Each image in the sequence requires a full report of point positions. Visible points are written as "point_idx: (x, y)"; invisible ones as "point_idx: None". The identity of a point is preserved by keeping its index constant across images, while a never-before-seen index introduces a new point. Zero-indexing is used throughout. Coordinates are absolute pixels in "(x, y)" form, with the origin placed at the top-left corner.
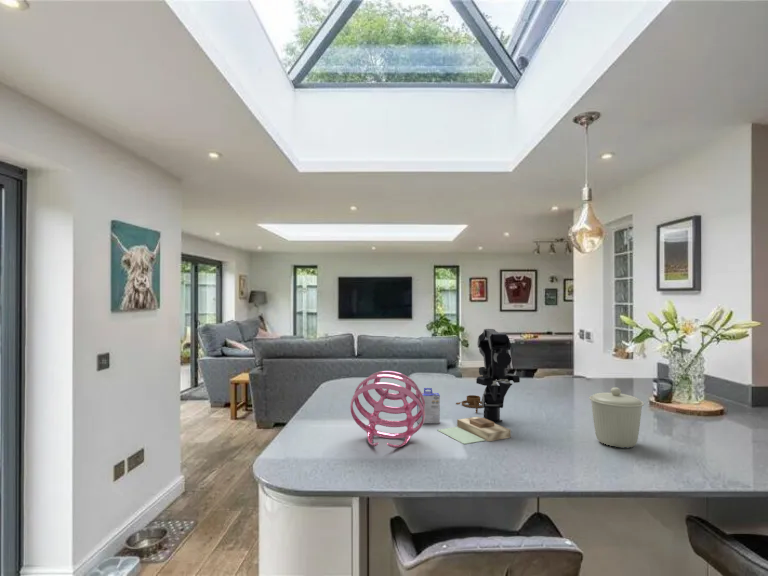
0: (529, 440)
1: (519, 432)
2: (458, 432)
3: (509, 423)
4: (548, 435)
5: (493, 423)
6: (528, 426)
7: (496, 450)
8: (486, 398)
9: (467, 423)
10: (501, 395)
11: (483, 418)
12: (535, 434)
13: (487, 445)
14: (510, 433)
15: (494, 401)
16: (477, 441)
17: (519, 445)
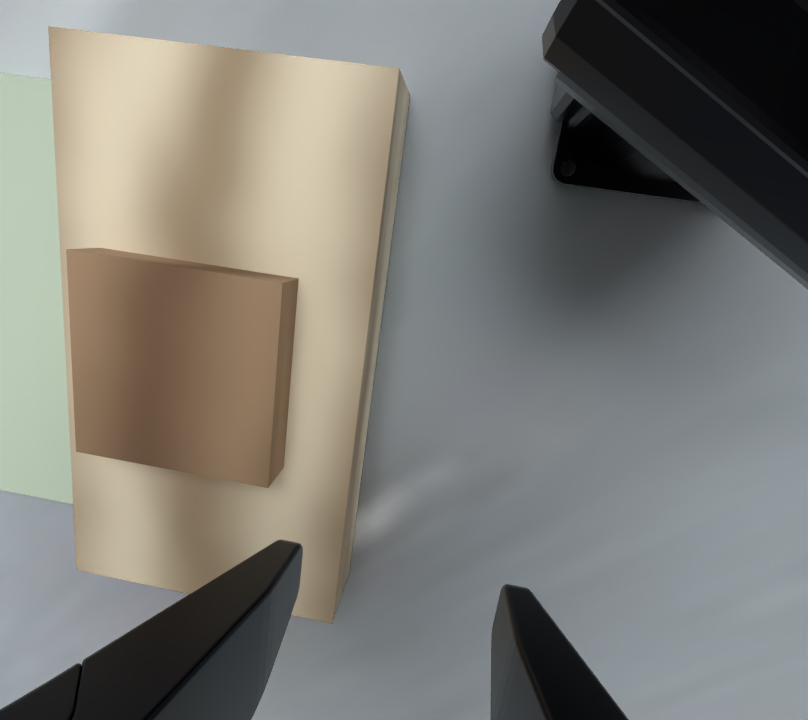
0: (423, 686)
1: (535, 542)
2: (6, 245)
3: (741, 300)
4: (672, 716)
5: (260, 478)
6: (803, 487)
7: (64, 657)
8: (547, 37)
9: (75, 238)
10: (511, 715)
11: (261, 310)
12: (604, 646)
13: (66, 573)
14: (339, 597)
15: (695, 195)
16: (35, 495)
17: (269, 695)
